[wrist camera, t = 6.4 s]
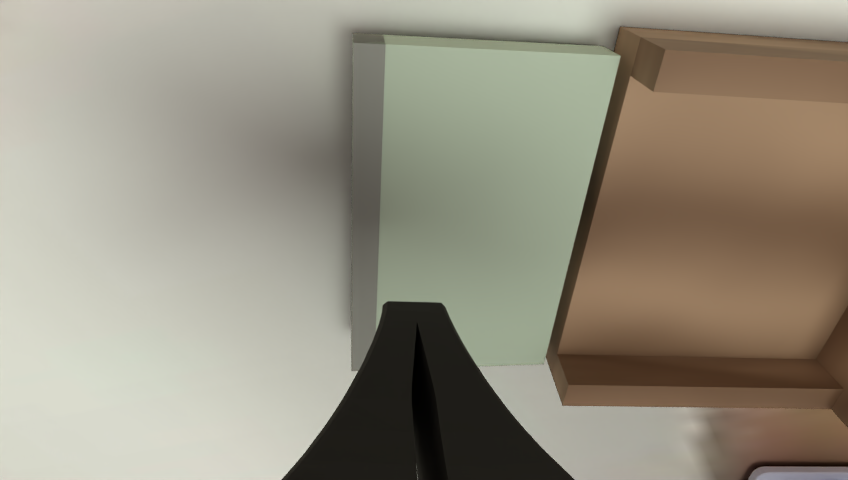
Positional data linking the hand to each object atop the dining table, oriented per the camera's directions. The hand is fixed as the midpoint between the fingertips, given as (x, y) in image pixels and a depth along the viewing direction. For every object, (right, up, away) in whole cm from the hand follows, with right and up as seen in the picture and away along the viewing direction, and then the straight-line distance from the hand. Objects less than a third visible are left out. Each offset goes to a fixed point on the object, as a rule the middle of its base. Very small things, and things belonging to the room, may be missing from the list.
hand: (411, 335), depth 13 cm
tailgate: (+5, +2, +5) cm, 7 cm away
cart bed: (+11, +3, +6) cm, 13 cm away
